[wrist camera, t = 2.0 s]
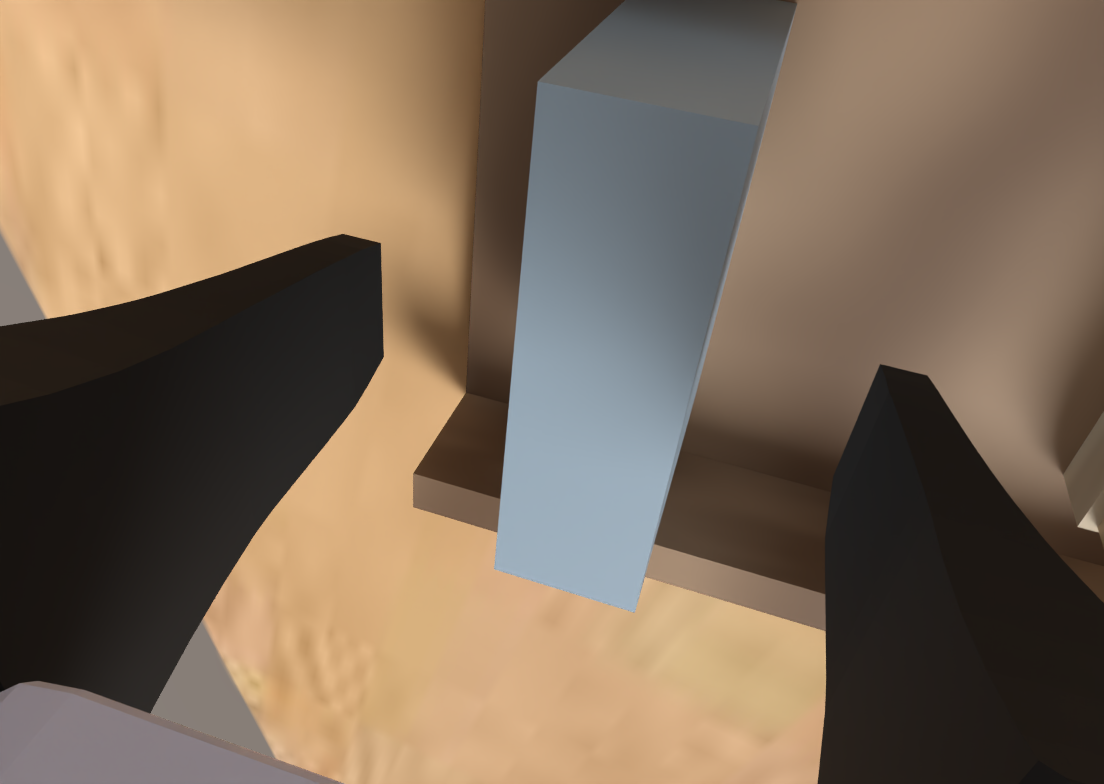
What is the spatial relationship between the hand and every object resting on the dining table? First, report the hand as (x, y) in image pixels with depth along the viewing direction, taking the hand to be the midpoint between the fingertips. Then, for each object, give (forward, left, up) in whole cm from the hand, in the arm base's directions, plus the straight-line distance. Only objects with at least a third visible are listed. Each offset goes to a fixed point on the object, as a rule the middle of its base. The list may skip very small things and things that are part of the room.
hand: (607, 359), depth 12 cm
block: (0, 0, -5) cm, 5 cm away
